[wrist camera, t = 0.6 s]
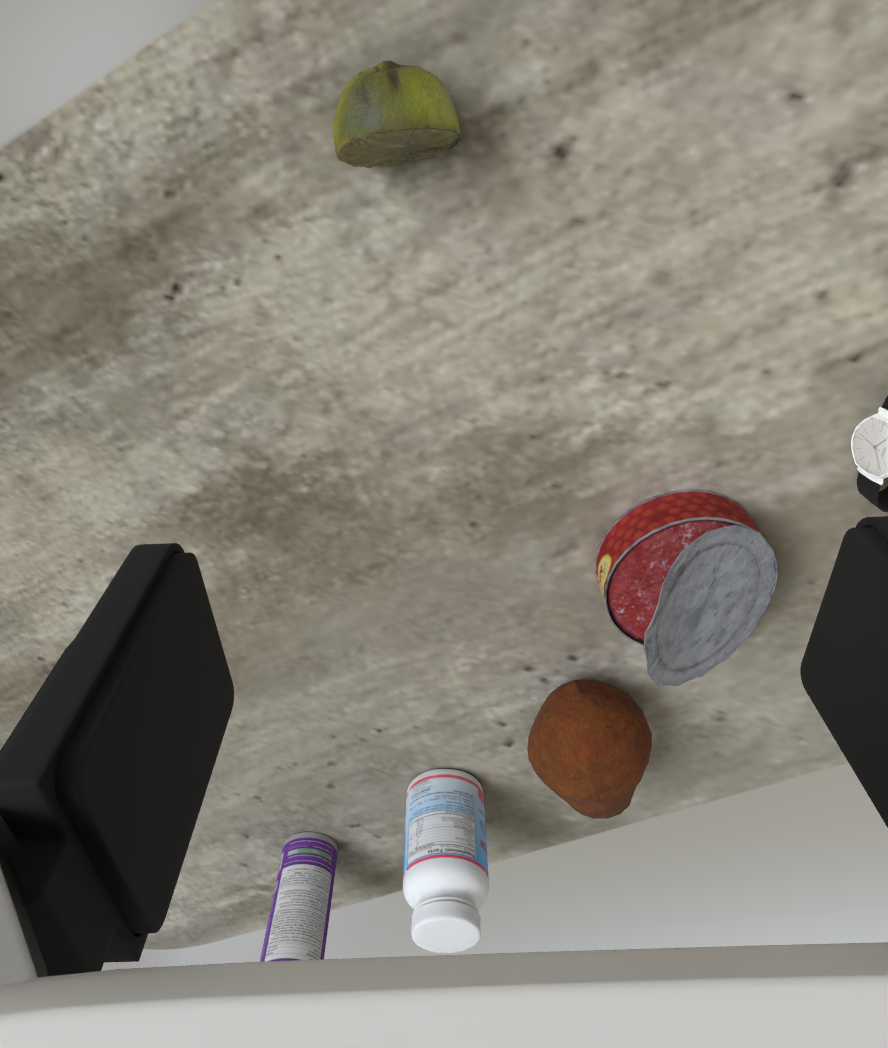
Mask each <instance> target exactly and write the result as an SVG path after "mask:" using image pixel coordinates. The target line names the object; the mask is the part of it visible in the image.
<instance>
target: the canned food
mask: <svg viewBox="0 0 888 1048" xmlns="http://www.w3.org/2000/svg"><path fill="white" fill-rule="evenodd" d="M595 573H596V577H597V581H598V584H599V586H600V590H601V593H602V596H603V600H604V603H605V607H606V611H607V614H608V616H609V618H610V620H611V622H612V624H613V625H614V626H615V627H616V628H617V629H618V630H619V631H620V633H621V634H623V635H624V636H626V637H627V638H629V639H630V640H632V641H633V642H636V643H638V644H640V645H643V646H644V650H645V655H646V660H647V674H648V675H649V676H650V677H651V679H652V680H653V681H654V682H655V683H656V684H657V685H658V686H665V685H670V686H679V685H681V684H683V683H685V682H687V681H689V680H691V679H694V678H697V677H701V676H703V675H704V674H706V673H707V672H708V671H709V670H711V669H712V668H713V667H714V666H716V665H717V664H719V663H721V662H722V661H724V660H726V659H727V658H729V656H730V655H731V654H732V653H733V652H734V651H735V649H736V648H737V647H738V646H739V645H740V644H741V643H742V642H743V641H744V640H745V639H746V638H747V637H748V636H749V635H750V634H751V633H752V631H753V629H754V628H755V626H756V624H757V622H758V620H759V618H760V617H761V615H762V614H763V613H764V611H765V610H766V608H767V607H768V605H769V601H770V598H771V596H772V594H773V592H774V590H775V586H776V581H777V576H778V571H777V560H776V557H775V554H774V551H773V549H772V548H771V546H770V545H769V543H768V542H767V540H766V539H765V538H764V537H763V535H762V534H761V533H760V531H759V530H758V528H757V527H756V525H755V523H754V521H753V520H752V518H751V517H750V515H749V514H748V512H747V511H746V510H745V509H744V508H743V507H741V506H740V505H739V504H738V503H737V502H735V501H733V500H731V499H729V498H727V497H725V496H723V495H720V494H716V493H712V492H709V491H699V490H684V491H674V492H670V493H666V494H662V495H658V496H655V497H653V498H650V499H648V500H646V501H643V502H641V503H640V504H638V505H636V506H635V507H633V508H632V509H630V510H628V511H627V512H626V513H625V514H624V515H622V516H621V517H620V518H619V519H618V520H617V521H616V522H615V523H614V524H613V525H612V526H611V528H610V529H609V530H608V531H607V533H606V534H605V536H604V538H603V540H602V542H601V544H600V546H599V549H598V552H597V556H596V564H595Z"/></svg>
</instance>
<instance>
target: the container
mask: <svg viewBox="0 0 888 1048" xmlns="http://www.w3.org/2000/svg"><path fill="white" fill-rule="evenodd" d="M337 852H338V847H337V844H336V843H335V842H334V841H333V840H332V839H331V838H330V837H328V836H326V835H323V834H320V833H315V832H302V833H297V834H294V835H292V836H290V837H289V838H287V839H286V841H285V842H284V846H283V850H282V855H281V860H280V865H279V870H278V875H277V880H276V885H275V890H274V895H273V900H272V905H271V910H270V915H269V920H268V924H267V929H266V934H265V939H264V945H263V949H262V955H261V959H260V962H267V961H295V960H324V953H325V945H326V937H327V930H328V922H329V914H330V907H331V899H332V892H333V884H334V876H335V869H336V861H337Z"/></svg>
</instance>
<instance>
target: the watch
mask: <svg viewBox="0 0 888 1048" xmlns="http://www.w3.org/2000/svg"><path fill="white" fill-rule="evenodd" d="M851 449H852V455H853V458H854V461H855V464H856V465H857V466H858V468H857V470H858V471H859V473H858V478H857V487H858V491H859V492H860V493H861V494H862V495H863V496H864V497H865V498H867V499H868V500H869V501H870V502H871V503H873V504H874V505H875V506H877V507H878V508H879V509H880V510H882V511H884V512H888V487H887V488H885V489H884V490H882V491H880V492H879V490H880V487H881V485H883V480H884V478H887V477H888V396H887V398H886V399H885V401H884V403H883V405H882V407H879V409H878V413H877V414H874V415H873V416H870V417H868V418H866V419H864V420H863V421H862V422H861V423H860V424H859V425H858V426H857V427H856V429H855V431H854V433H853V436H852V440H851Z"/></svg>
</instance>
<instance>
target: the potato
mask: <svg viewBox="0 0 888 1048" xmlns="http://www.w3.org/2000/svg"><path fill="white" fill-rule="evenodd" d="M651 747H652V734H651V731H650V729H649V726H648V724H647V721H646V719H645V716H644V713H643V711H642V709H641V708H640V706H639V705H638V704H637V703H636V702H635V701H634V700H633V699H632V698H631V697H630V696H629V695H628V694H627V693H625V692H623V691H621V690H619V689H617V688H615V687H613V686H611V685H609V684H606V683H602V682H598V681H592V680H573V681H570V682H568V683H565V684H562V685H561V686H560V687H558V688H557V689H556V690H554V691H553V692H552V693H551V694H550V695H549V696H548V698H547V699H546V701H545V702H544V704H543V705H542V707H541V709H540V711H539V713H538V715H537V717H536V719H535V721H534V723H533V726H532V728H531V732H530V735H529V739H528V757H529V761H530V763H531V765H532V767H533V768H534V770H535V772H536V774H537V775H538V777H539V778H540V779H541V780H542V781H543V782H544V783H545V784H546V785H547V786H548V787H549V788H550V789H551V790H552V791H554V792H555V793H556V794H557V795H558V796H559V797H561V798H562V799H563V800H565V801H566V802H567V803H568V804H569V805H570V806H571V807H572V808H573V809H575V810H576V811H577V812H579V813H580V814H582V815H585V816H588V817H591V818H610V817H613V816H615V815H618V814H620V813H622V812H623V811H624V810H625V809H626V808H627V807H628V806H629V805H630V802H631V799H632V796H633V793H634V791H635V788H636V786H637V785H638V783H639V782H640V781H641V778H642V776H643V773H644V771H645V769H646V766H647V764H648V761H649V757H650V752H651Z"/></svg>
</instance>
